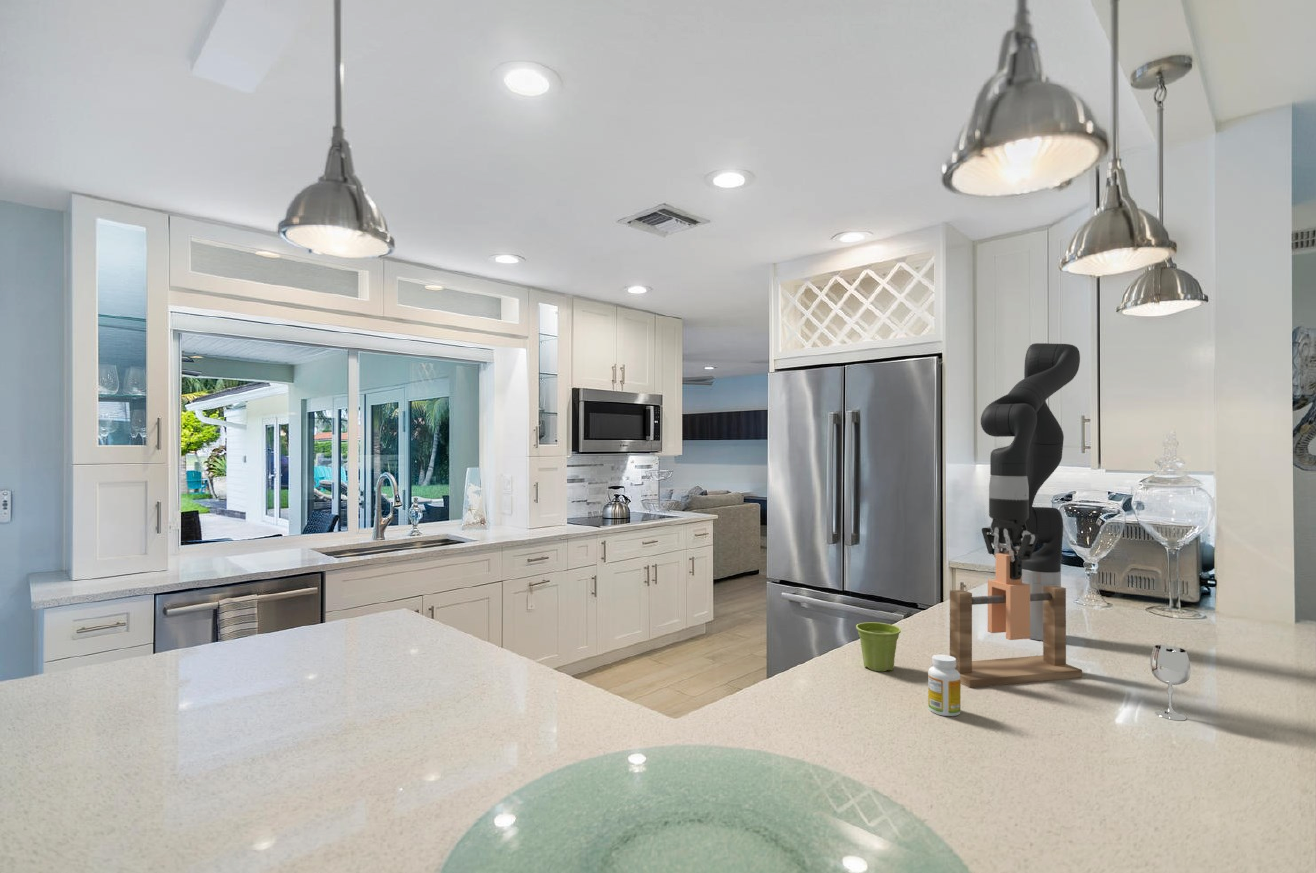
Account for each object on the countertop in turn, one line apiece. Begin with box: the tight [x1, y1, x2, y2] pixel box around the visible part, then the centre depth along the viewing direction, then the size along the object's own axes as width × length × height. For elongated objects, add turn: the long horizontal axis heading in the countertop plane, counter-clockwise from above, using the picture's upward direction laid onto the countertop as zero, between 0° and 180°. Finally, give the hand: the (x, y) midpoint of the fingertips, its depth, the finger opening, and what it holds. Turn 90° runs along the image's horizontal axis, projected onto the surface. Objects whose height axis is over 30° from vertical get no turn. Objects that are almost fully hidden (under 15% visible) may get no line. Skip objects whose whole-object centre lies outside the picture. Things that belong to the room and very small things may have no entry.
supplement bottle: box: [927, 654, 962, 717], centre depth 119 cm, size 5×5×10 cm
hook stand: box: [949, 585, 1083, 689], centre depth 139 cm, size 10×28×18 cm, turn 104°
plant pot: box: [855, 621, 902, 672], centre depth 143 cm, size 9×9×9 cm
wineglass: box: [1149, 644, 1192, 721], centre depth 118 cm, size 6×6×12 cm
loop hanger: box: [987, 552, 1031, 641], centre depth 140 cm, size 6×5×17 cm
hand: (1008, 577), depth 140 cm, fingers closed on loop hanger, 3 cm apart
